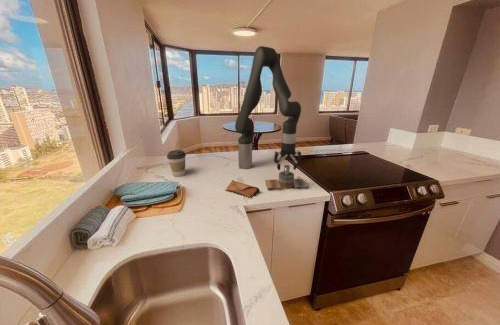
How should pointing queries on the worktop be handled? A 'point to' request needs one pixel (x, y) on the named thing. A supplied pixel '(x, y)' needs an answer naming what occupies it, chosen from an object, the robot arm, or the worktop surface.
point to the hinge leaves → (286, 182)
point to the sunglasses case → (242, 189)
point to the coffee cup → (177, 162)
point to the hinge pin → (286, 170)
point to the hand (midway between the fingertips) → (286, 169)
